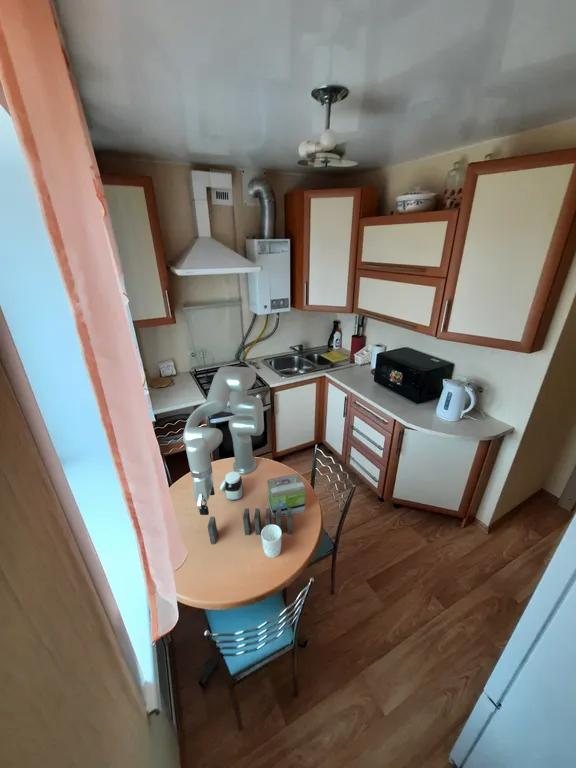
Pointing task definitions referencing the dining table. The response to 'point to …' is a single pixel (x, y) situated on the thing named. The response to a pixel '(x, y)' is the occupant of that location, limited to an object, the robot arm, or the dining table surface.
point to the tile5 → (289, 520)
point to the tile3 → (268, 517)
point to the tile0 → (212, 530)
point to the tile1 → (246, 521)
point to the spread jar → (232, 486)
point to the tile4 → (279, 518)
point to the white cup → (271, 540)
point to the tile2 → (257, 521)
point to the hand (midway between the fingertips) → (207, 504)
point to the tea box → (286, 494)
